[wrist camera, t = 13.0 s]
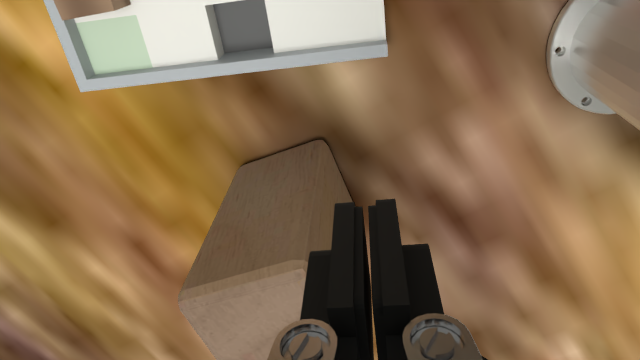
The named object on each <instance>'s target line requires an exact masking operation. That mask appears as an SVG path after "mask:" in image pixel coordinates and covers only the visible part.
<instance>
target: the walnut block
mask: <svg viewBox="0 0 640 360" xmlns="http://www.w3.org/2000/svg"><path fill="white" fill-rule="evenodd" d="M53 1H54V3H55V5H56V8H57V10H58V12H59V14H60V17H61V19H62V21H64V20H69V19H74V18H79V17H85V16H90V15H95V14H100V13H106V12H111V11H115V10H118V9H121V8H123V7H126V6H129V5H131V2H130V0H53Z"/></svg>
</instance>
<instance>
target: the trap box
mask: <svg viewBox="0 0 640 360" xmlns="http://www.w3.org/2000/svg"><path fill="white" fill-rule="evenodd" d="M130 2H131V5H129V6H126V7H123V8H121V9H118V10H115V11H111V12H106V13H100V14H95V15H90V16H85V17H79V18H74V19H69V20H64V21H62V19H61V17H60V14H59V12H58V10H57V8H56V5H55V3H54V1H53V0H44V3H45V5H46V8H47V10H48V13H49V15H50V17H51V20H52V22H53V25H54V27H55V30H56V32H57V35H58V37H59V40H60V42H61V45H62V47H63V50H64V52H65V55H66V57H67V60H68V62H69V65H70V67H71V69H72V72H73V74H74V77H75V79H76V82H77V84H78V87H79V89H80V92H85V91H93V90H102V89H111V88H119V87H128V86H136V85H145V84H154V83H162V82H171V81H180V80H188V79H197V78H206V77H214V76H223V75H231V74H240V73H249V72H257V71H266V70H275V69H283V68H292V67H301V66H309V65H318V64H326V63H335V62H344V61H352V60H361V59H370V58H378V57H387V56H388V49H387V41H386V30H385V14H384V0H130Z"/></svg>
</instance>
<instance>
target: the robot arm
mask: <svg viewBox="0 0 640 360" xmlns="http://www.w3.org/2000/svg"><path fill="white" fill-rule="evenodd" d="M558 47H559V50H558V51H556V52H555V50H556V49H557V48H558ZM546 59H547V69H548V73H549V76H550V79H551V81H552V83H553V85H554V87H555V88H556V90H557V91H558V92H559V93H560V94H561V95H562V96H563V97H564V98H565V99H566V100H567V101H569V102H570V103H571V104H572V105H574V106H576V107H578V108H580V109H582V110H585V111H588V112H592V113H597V114H618V115H620V116H621V117H622V118H624V119H625V120H626V121H628V122H629V123H630V124H632V125H633V126H634V127H636V128H637V129H638V130H640V0H569V1H568V2H567V4H566V5H565V6H564V8H563V9H562V10H561V12H560V14H559V16H558V17H557V19H556V21H555V23H554V25H553V28H552V30H551V33H550V36H549V39H548V45H547V52H546ZM583 98H584V99H583ZM582 99H583V100H582ZM368 211H369V235H370V259H371V283H372V303H371V284H370V274H369V264H368V255H367V245H366V236H365V227H364V217H363V208H362V207H355V203H354V202H347V203H335V206H334V219H333V232H332V246H331V250H321V251H311V252H310V254H309V259H308V266H307V273H306V281H305V288H304V295H303V302H302V309H301V316H300V320H299V321H295V322H293V323H291V324H289V325H287V326H286V327H284V328H283V329H282V330H281V331H280V332H279V333H278V335H277V337H276V338H275V340H274V342H273V345H272V348H271V350H270V353H269V356H268V358H267V360H374V354H373V328H372V304H373V316H374V325H375V335H376V344H377V353H378V360H488V359H486V358H484V357H483V356H481V355H480V352H479V350H478V348H477V346H476V344H475V342H474V340H473V338H472V336H471V334H470V332H469V331H468V329H467V328H466V326H465V325H464V324H462V323H461V322H460V321H458V320H457V319H455V318H453V317H450V316H448V315H444V312H443V307H442V303H441V298H440V294H439V289H438V285H437V280H436V276H435V271H434V267H433V262H432V258H431V253H430V249H429V245H428V244H415V245H402V244H401V237H400V230H399V223H398V216H397V208H396V201H395V199H386V200H376V205H375V206H368Z"/></svg>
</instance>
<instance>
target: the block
mask: <svg viewBox="0 0 640 360" xmlns="http://www.w3.org/2000/svg"><path fill="white" fill-rule="evenodd" d="M347 202H352V199H351V197H350V195H349V192H348V190H347V188H346V186H345V183H344V181H343V179H342V176H341V174H340V172H339V169H338V167H337V165H336V163H335V160H334V158H333V156H332V153H331V151H330V149H329V146H328V145H327V144H326V143H325V142H324V141H323V140H315V141H312V142H309V143H306V144H303V145H300V146H298V147H295V148H292V149H289V150H286V151H283V152H280V153H277V154H274V155H271V156H269V157H266V158H263V159H260V160H257V161H254V162H251V163H248V164H245V165H243V166H241V167H240V168H239V169H238V171H237V173H236V175H235V177H234V179H233V181H232V183H231V185H230V187H229V189H228V192H227V194H226V196H225V198H224V200H223V202H222V204H221V206H220V208H219V211H218V213H217V215H216V217H215V219H214V221H213V223H212V225H211V227H210V230H209V232H208V234H207V236H206V238H205V240H204V242H203V244H202V246H201V249H200V251H199V253H198V255H197V257H196V259H195V261H194V263H193V265H192V268H191V270H190V272H189V274H188V276H187V278H186V280H185V282H184V284H183V287H182V289H181V291H180V293H179V295H178V304H179V308H180V311H181V312H182V313H183V315H184V316H185V317H186V319H187V320H188V321H189V323H190V324H191V326H192V327H193V328H194V330H195V331H196V332H197V334H198V335H199V336H200V338H201V339H202V340H203V342H204V343H205V345H206V346H207V347H208V349H209V350H210V351H211V353H212V354H213V355H214V357H215V358H216V359H217V360H267V358H268V356H269V353H270V350H271V348H272V345H273V342H274V340H275V338H276V337H277V335H278V333H279V332H280V331H281V330H282V329H283V328H284V327H286V326H287V325H289V324H291V323H293V322H295V321H299V320H300V316H301V309H302V302H303V295H304V288H305V281H306V273H307V266H308V259H309V254H310V252H311V251H321V250H331V246H332V232H333V219H334V206H335V203H347Z"/></svg>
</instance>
